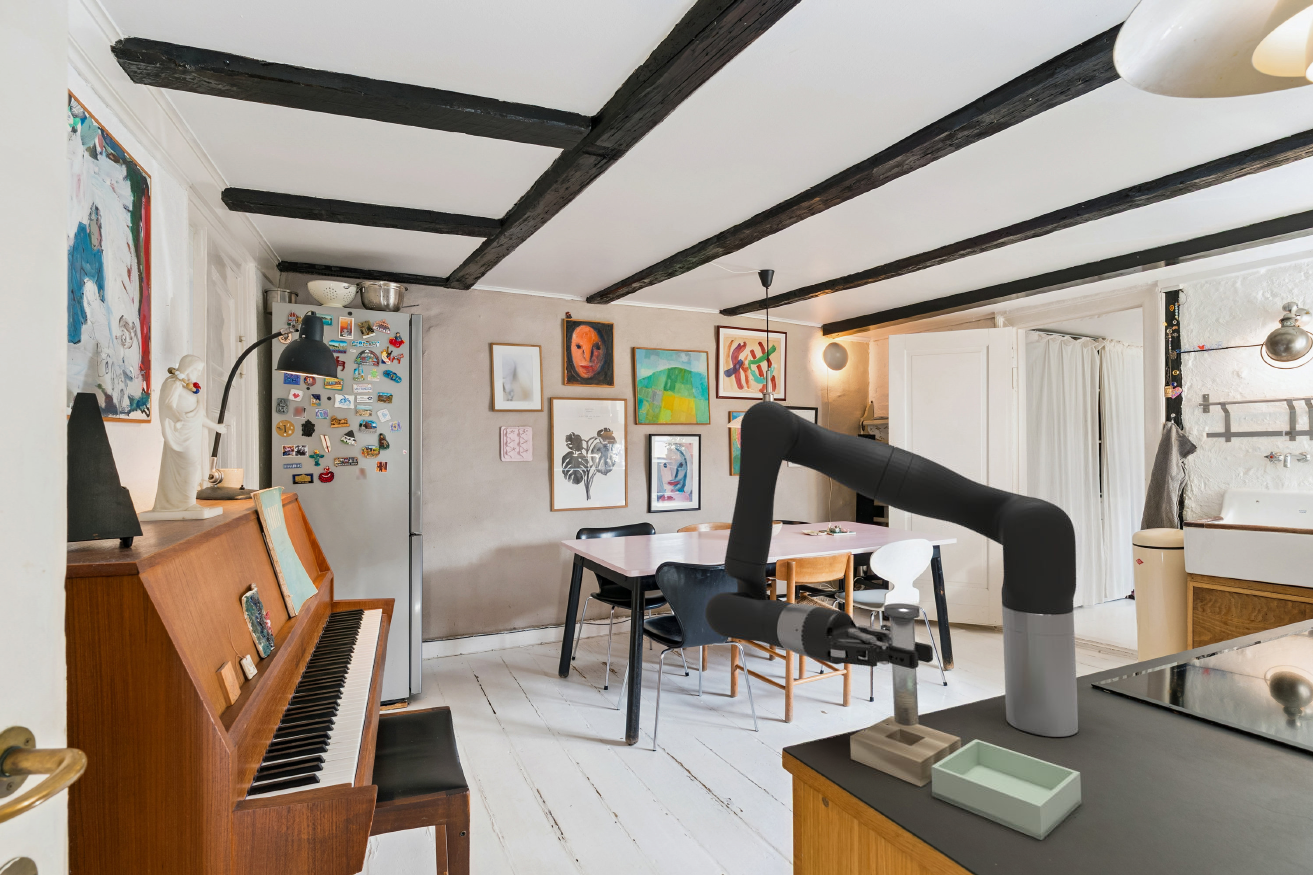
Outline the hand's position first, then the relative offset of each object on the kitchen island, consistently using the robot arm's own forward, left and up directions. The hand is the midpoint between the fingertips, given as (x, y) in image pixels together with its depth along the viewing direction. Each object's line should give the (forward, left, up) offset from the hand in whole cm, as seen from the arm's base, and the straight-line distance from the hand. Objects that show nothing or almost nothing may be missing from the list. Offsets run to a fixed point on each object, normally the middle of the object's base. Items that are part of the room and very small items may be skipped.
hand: (923, 657), depth 86 cm
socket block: (0, -3, -14) cm, 14 cm away
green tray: (+1, +10, -14) cm, 17 cm away
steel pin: (0, -3, -9) cm, 9 cm away
